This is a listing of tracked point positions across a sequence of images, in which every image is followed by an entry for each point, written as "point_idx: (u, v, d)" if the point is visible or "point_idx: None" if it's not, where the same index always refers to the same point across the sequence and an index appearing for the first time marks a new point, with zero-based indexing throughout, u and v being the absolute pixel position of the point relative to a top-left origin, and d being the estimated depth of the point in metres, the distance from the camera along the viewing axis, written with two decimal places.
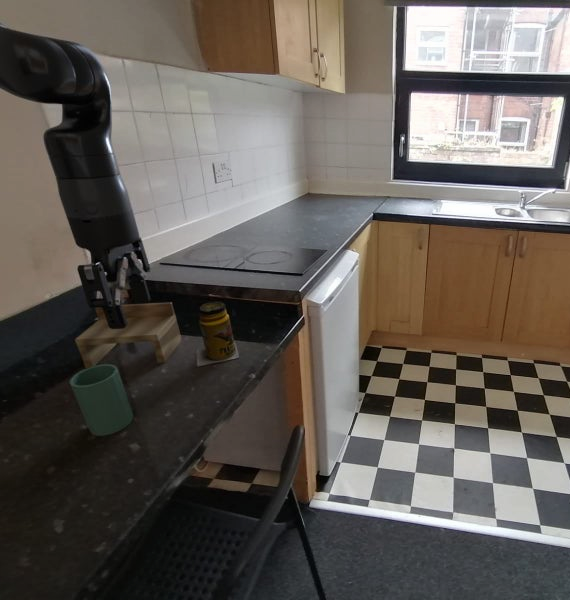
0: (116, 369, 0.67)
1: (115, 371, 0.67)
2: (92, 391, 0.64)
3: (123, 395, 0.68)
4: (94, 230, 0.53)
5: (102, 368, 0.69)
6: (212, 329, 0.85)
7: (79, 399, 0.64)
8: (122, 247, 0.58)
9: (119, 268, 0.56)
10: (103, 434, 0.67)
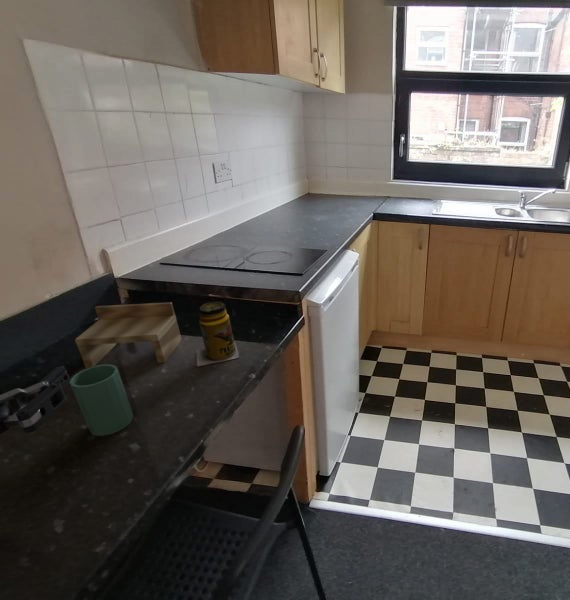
0: (116, 369, 0.67)
1: (115, 371, 0.67)
2: (92, 391, 0.64)
3: (123, 395, 0.68)
4: None
5: (102, 368, 0.69)
6: (212, 329, 0.85)
7: (79, 399, 0.64)
8: None
9: None
10: (103, 434, 0.67)
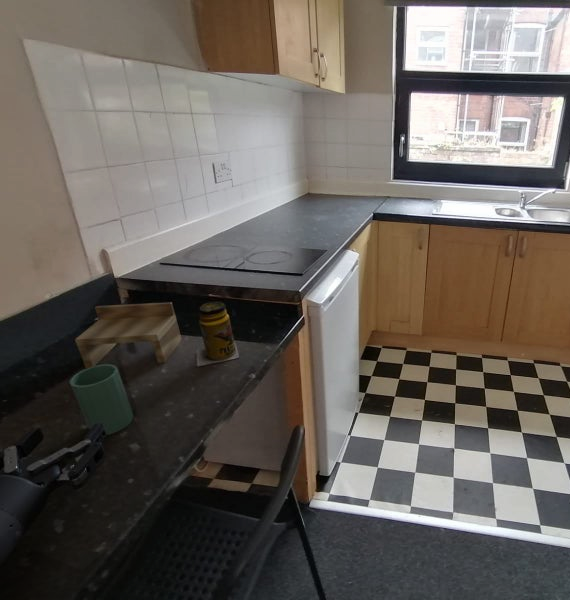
0: (116, 369, 0.67)
1: (115, 371, 0.67)
2: (92, 391, 0.64)
3: (123, 395, 0.68)
4: None
5: (102, 368, 0.69)
6: (212, 329, 0.85)
7: (79, 399, 0.64)
8: None
9: None
10: None
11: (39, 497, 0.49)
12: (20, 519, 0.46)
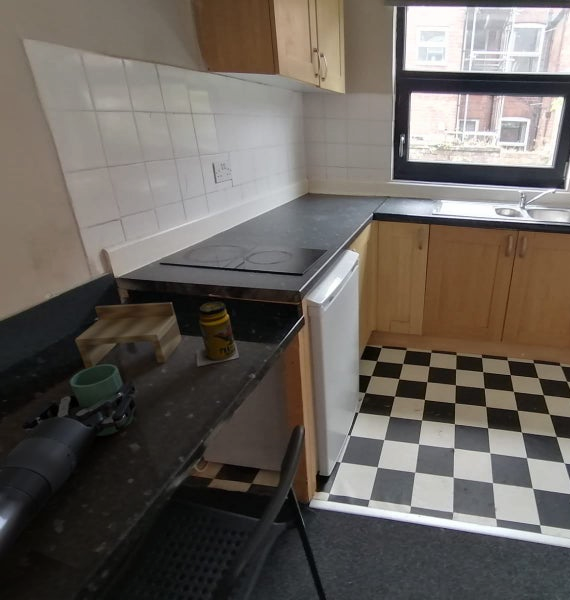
0: (116, 369, 0.67)
1: (115, 371, 0.67)
2: (92, 391, 0.64)
3: None
4: None
5: (102, 368, 0.69)
6: (212, 329, 0.85)
7: (79, 399, 0.64)
8: None
9: None
10: (103, 434, 0.67)
11: (88, 436, 0.58)
12: (75, 451, 0.55)
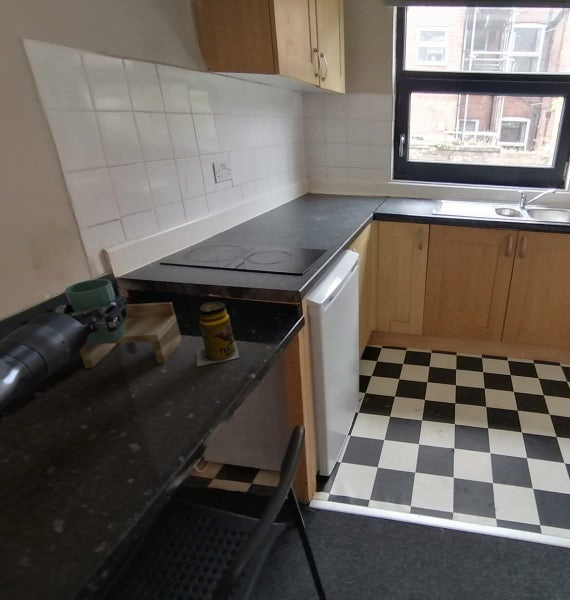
0: (109, 282, 0.72)
1: (108, 283, 0.71)
2: (86, 298, 0.68)
3: None
4: None
5: (96, 282, 0.73)
6: (212, 329, 0.85)
7: (74, 306, 0.68)
8: None
9: None
10: (97, 342, 0.71)
11: (82, 332, 0.62)
12: (69, 341, 0.59)
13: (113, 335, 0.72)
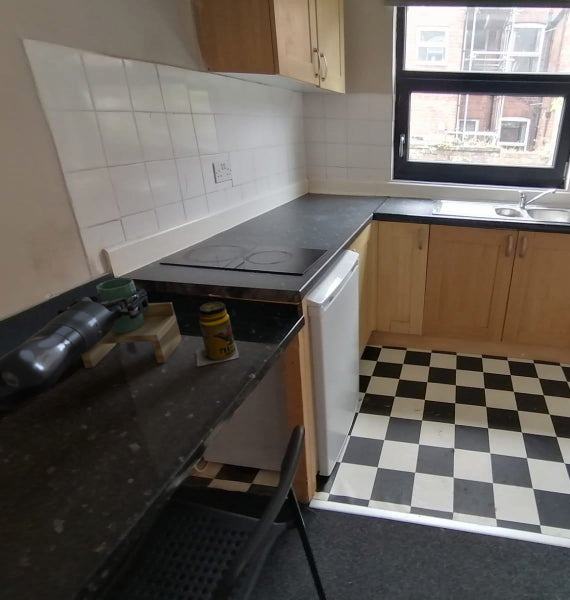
0: (132, 280, 0.85)
1: (131, 281, 0.85)
2: (114, 293, 0.82)
3: None
4: None
5: (120, 281, 0.87)
6: (213, 329, 0.85)
7: (103, 300, 0.82)
8: None
9: None
10: (122, 331, 0.85)
11: (110, 317, 0.76)
12: (101, 324, 0.73)
13: (135, 325, 0.86)
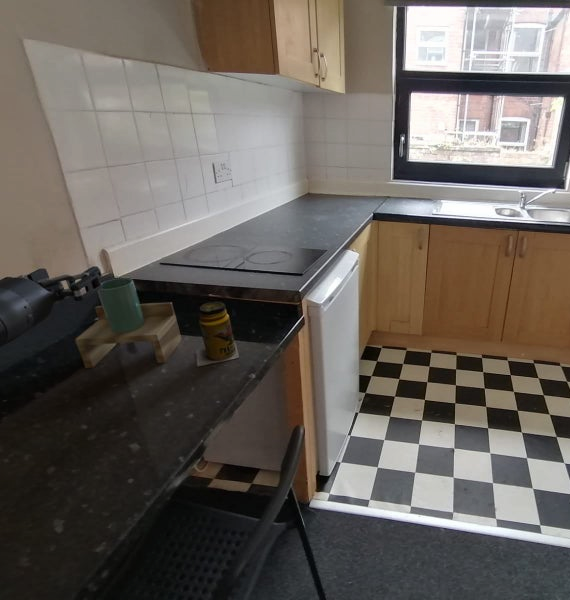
0: (132, 280, 0.85)
1: (131, 281, 0.85)
2: (114, 293, 0.82)
3: (137, 302, 0.86)
4: None
5: (120, 281, 0.87)
6: (213, 329, 0.85)
7: (103, 300, 0.82)
8: None
9: None
10: (122, 331, 0.85)
11: (47, 299, 0.60)
12: (32, 306, 0.58)
13: (135, 325, 0.86)
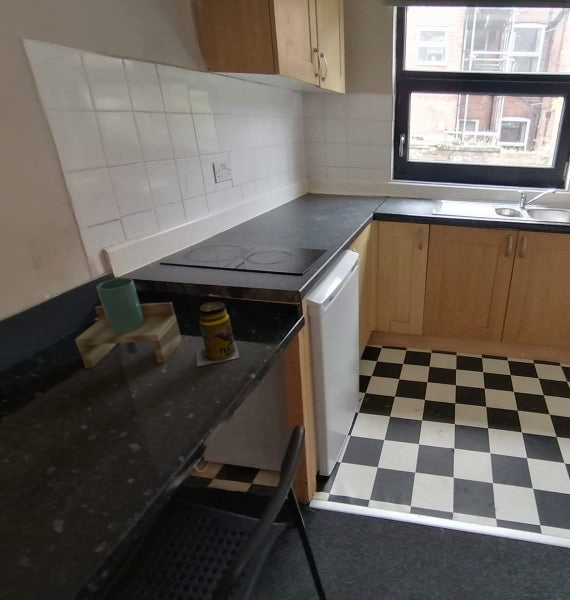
0: (132, 280, 0.85)
1: (131, 281, 0.85)
2: (114, 293, 0.82)
3: (137, 302, 0.86)
4: None
5: (120, 281, 0.87)
6: (212, 329, 0.85)
7: (103, 300, 0.82)
8: None
9: None
10: (122, 331, 0.85)
11: None
12: None
13: (135, 325, 0.86)
